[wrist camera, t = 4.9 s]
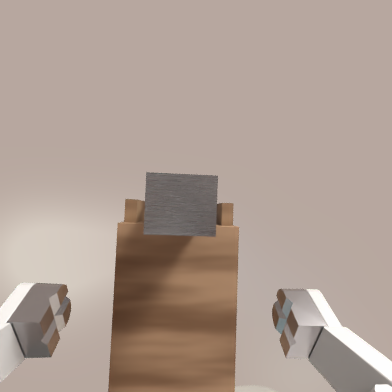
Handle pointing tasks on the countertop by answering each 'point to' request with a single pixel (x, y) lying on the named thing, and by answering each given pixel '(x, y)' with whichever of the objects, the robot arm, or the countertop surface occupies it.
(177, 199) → the gray rectangular bar
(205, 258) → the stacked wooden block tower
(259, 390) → the countertop surface
